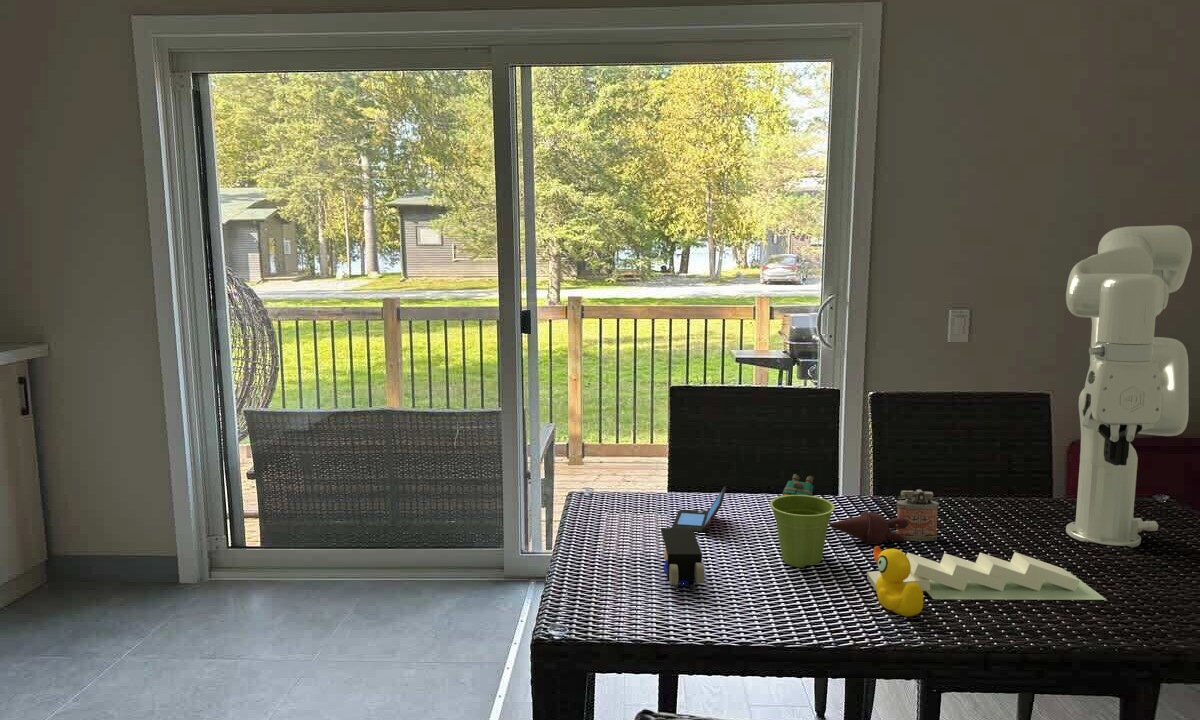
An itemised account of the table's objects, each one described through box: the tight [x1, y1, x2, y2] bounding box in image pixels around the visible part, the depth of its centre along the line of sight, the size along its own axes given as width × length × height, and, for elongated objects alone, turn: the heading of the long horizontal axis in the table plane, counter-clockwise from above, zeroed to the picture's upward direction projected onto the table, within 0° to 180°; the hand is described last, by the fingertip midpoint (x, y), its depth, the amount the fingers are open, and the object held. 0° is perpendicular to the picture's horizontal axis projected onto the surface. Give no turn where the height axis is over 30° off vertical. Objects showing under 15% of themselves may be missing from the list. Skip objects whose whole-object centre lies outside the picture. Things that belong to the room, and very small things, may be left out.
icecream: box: [828, 509, 908, 545], centre depth 150 cm, size 7×8×15 cm
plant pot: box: [769, 495, 836, 569], centre depth 142 cm, size 12×12×11 cm
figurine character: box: [660, 527, 705, 592], centre depth 136 cm, size 7×8×15 cm
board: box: [926, 571, 1107, 601], centre depth 130 cm, size 28×11×1 cm, turn 87°
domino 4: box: [975, 552, 1044, 591], centre depth 129 cm, size 2×5×9 cm
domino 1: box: [866, 570, 930, 592], centre depth 130 cm, size 2×5×9 cm
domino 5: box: [1009, 551, 1081, 591], centre depth 129 cm, size 2×5×9 cm
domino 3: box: [939, 553, 1007, 591], centre depth 129 cm, size 2×5×9 cm
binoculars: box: [779, 473, 814, 497], centre depth 165 cm, size 9×9×10 cm
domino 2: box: [905, 552, 968, 591], centre depth 130 cm, size 2×5×9 cm
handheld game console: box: [671, 486, 727, 534], centre depth 163 cm, size 12×11×7 cm
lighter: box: [895, 489, 940, 542], centre depth 153 cm, size 8×3×10 cm, turn 84°
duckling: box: [873, 545, 924, 618], centre depth 122 cm, size 11×5×10 cm, turn 15°
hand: (1115, 463), depth 124 cm, fingers closed
